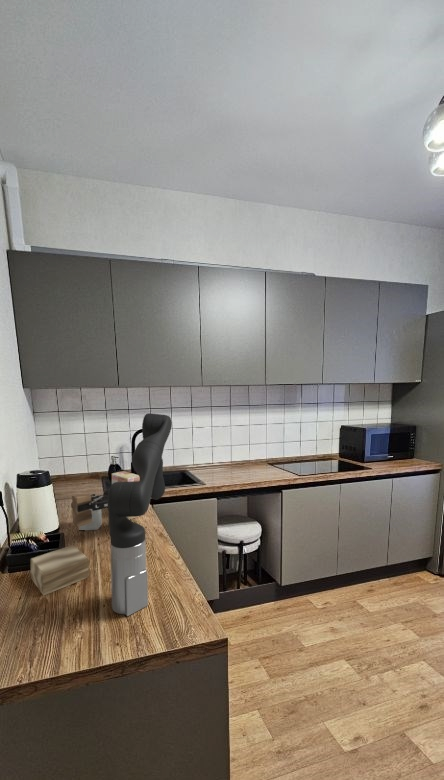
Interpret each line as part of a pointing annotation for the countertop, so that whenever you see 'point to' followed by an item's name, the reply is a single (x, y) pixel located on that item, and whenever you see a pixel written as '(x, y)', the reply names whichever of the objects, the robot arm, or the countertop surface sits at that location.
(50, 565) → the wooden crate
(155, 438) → the robot arm
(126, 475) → the coffeecake box
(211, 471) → the countertop surface
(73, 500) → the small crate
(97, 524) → the small box
